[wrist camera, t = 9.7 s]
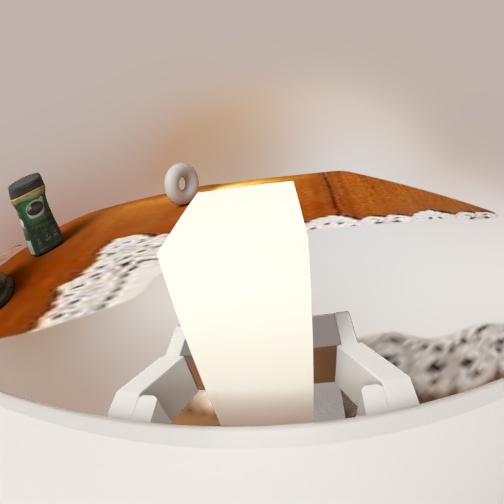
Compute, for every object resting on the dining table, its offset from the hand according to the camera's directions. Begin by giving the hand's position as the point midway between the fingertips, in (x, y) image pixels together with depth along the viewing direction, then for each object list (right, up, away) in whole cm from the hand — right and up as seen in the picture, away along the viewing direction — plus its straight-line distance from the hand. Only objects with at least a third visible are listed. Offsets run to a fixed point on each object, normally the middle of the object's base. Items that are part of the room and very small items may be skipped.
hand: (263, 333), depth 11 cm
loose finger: (+1, -7, +2) cm, 7 cm away
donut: (-16, +14, +63) cm, 66 cm away
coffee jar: (-51, +4, +54) cm, 74 cm away
